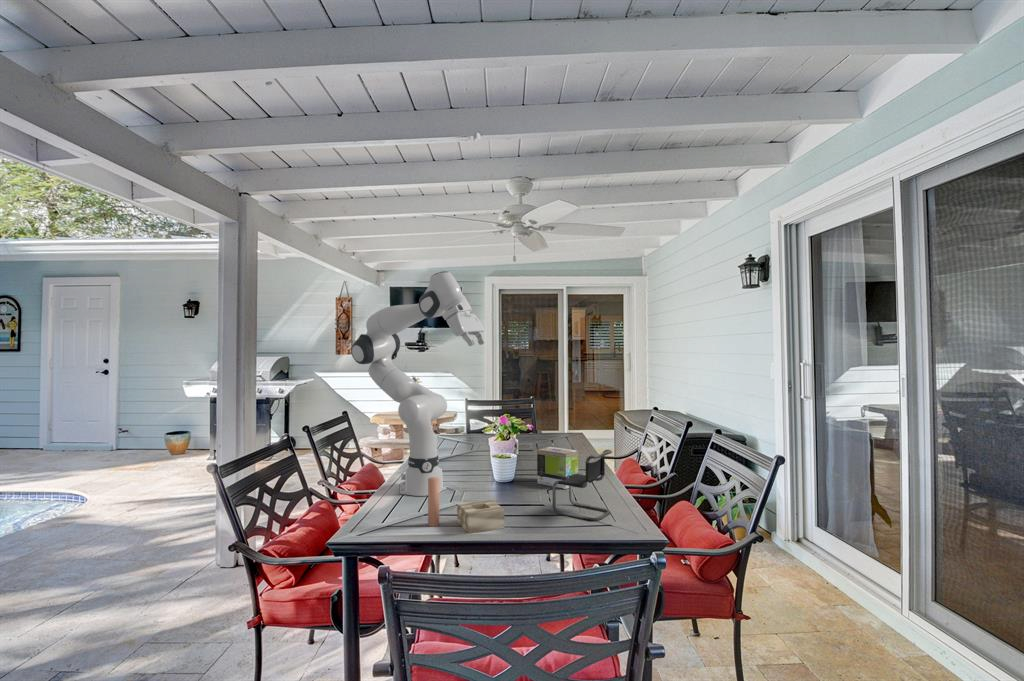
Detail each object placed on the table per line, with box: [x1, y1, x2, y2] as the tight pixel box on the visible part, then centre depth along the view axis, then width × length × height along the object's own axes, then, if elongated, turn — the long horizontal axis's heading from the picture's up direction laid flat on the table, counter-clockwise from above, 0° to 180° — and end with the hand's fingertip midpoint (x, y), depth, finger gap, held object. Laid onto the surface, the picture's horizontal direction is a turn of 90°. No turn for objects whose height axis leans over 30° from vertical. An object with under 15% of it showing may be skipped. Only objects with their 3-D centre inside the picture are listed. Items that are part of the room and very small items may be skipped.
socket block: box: [456, 499, 505, 534], centre depth 168 cm, size 12×12×6 cm
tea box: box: [536, 446, 579, 490], centre depth 219 cm, size 15×10×15 cm, turn 49°
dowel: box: [427, 477, 440, 528], centre depth 169 cm, size 4×4×15 cm
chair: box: [552, 449, 613, 522], centre depth 181 cm, size 13×17×22 cm
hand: (477, 344), depth 184 cm, fingers open, 8 cm apart
